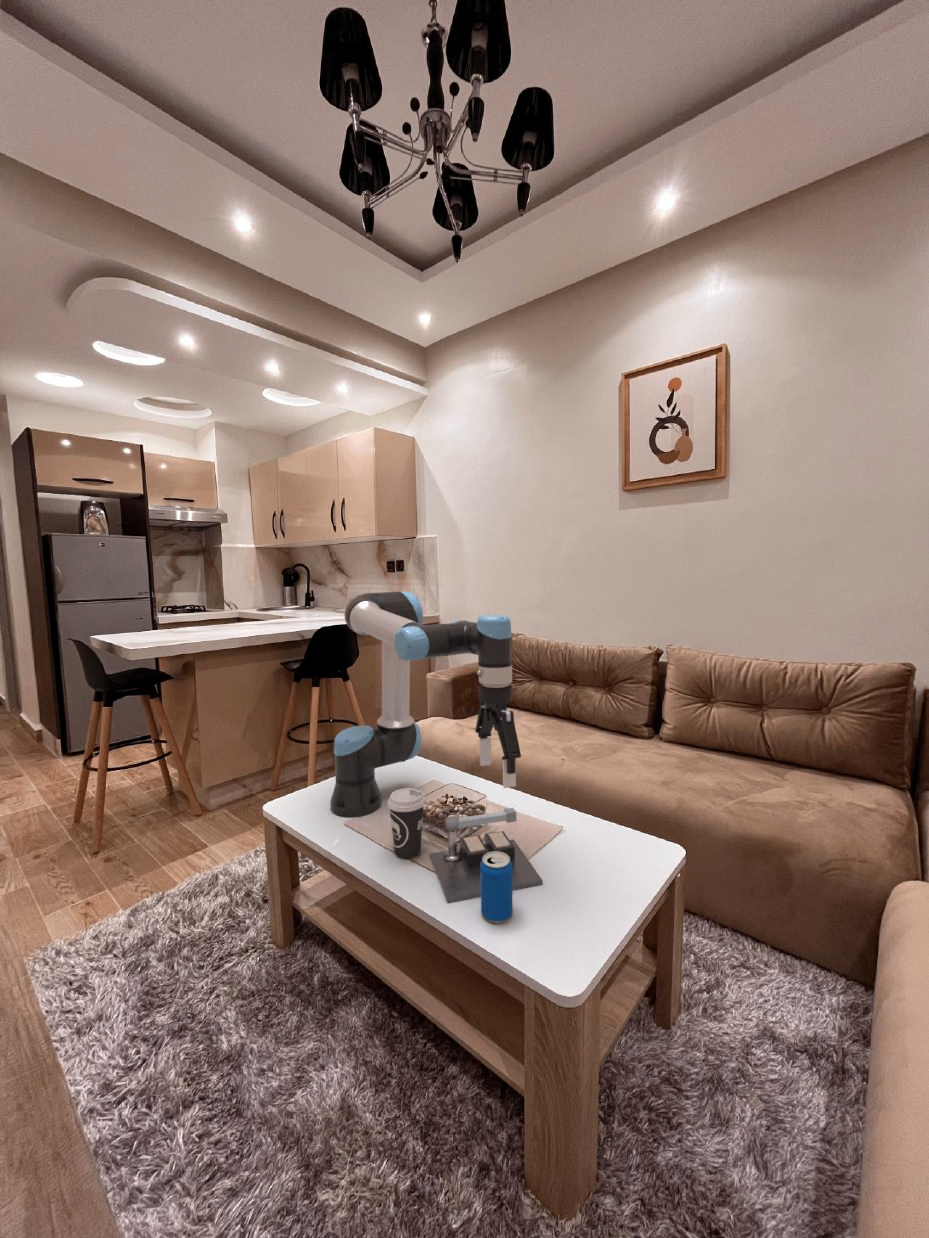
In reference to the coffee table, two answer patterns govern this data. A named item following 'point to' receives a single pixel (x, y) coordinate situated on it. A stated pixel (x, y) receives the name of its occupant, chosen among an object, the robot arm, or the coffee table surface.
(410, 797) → the coffee cup
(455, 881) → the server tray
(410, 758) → the robot arm
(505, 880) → the beverage can
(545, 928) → the coffee table surface
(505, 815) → the cable arm
